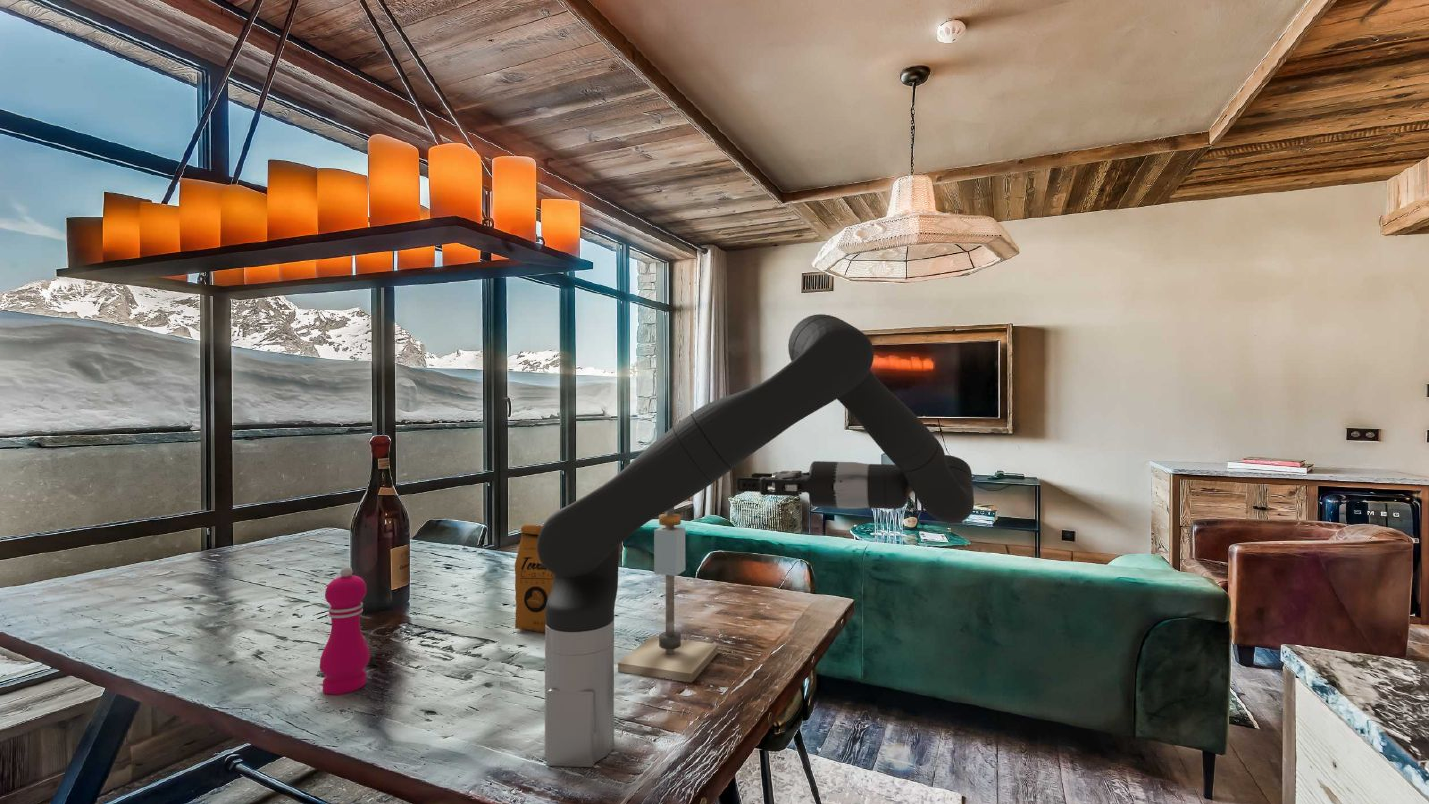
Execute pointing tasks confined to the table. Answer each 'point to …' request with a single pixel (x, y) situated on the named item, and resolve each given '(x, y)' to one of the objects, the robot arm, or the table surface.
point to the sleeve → (669, 551)
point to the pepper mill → (345, 636)
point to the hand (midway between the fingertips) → (745, 481)
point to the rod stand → (669, 640)
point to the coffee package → (531, 582)
